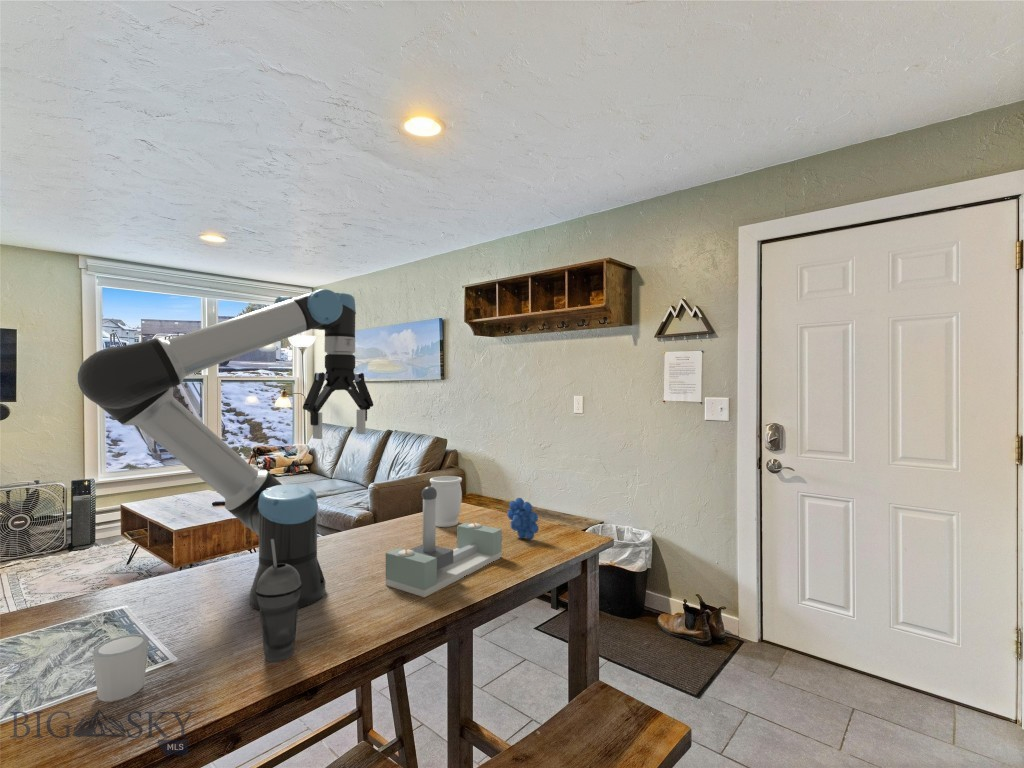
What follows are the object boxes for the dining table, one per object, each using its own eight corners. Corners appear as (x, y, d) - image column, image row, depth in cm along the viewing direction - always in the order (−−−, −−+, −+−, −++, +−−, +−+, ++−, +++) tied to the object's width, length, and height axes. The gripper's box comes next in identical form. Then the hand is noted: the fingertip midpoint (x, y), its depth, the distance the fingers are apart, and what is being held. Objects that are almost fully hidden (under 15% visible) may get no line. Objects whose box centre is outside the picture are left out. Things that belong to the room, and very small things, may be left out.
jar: (450, 517, 175) (450, 474, 175) (468, 524, 167) (468, 478, 167) (423, 523, 168) (423, 477, 168) (440, 530, 160) (440, 482, 160)
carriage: (433, 571, 116) (433, 491, 116) (404, 564, 121) (404, 486, 121) (453, 562, 122) (453, 486, 122) (425, 555, 127) (425, 481, 127)
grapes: (498, 537, 153) (498, 497, 153) (513, 532, 158) (513, 494, 158) (528, 546, 146) (528, 504, 146) (543, 540, 151) (543, 500, 151)
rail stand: (424, 597, 111) (424, 560, 111) (385, 585, 118) (385, 550, 118) (501, 557, 136) (501, 527, 136) (466, 549, 143) (466, 520, 143)
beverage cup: (290, 667, 84) (290, 546, 84) (246, 666, 84) (246, 545, 84) (309, 644, 92) (309, 533, 91) (268, 643, 92) (268, 532, 92)
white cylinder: (90, 710, 73) (90, 661, 73) (94, 686, 79) (94, 641, 79) (149, 693, 77) (149, 647, 77) (148, 672, 83) (148, 629, 83)
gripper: (306, 351, 120) (306, 441, 120) (386, 355, 140) (386, 432, 141) (287, 352, 124) (287, 439, 124) (367, 356, 145) (367, 431, 145)
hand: (340, 436), depth 132 cm, fingers open, 13 cm apart
